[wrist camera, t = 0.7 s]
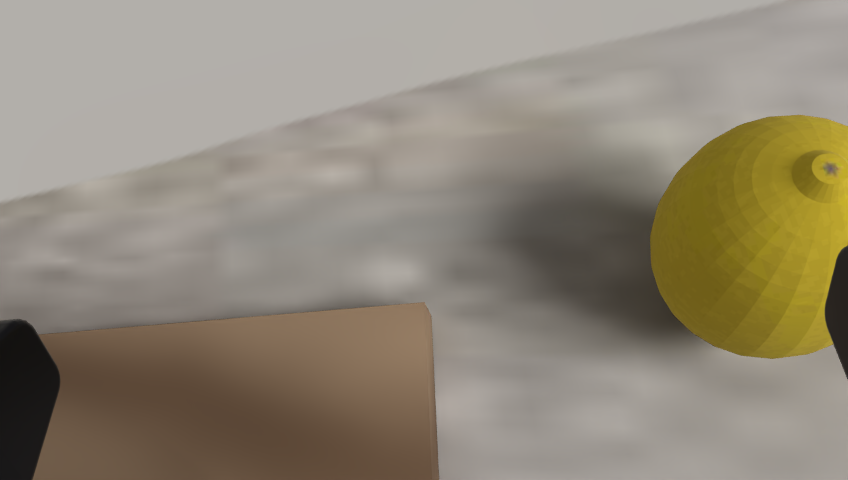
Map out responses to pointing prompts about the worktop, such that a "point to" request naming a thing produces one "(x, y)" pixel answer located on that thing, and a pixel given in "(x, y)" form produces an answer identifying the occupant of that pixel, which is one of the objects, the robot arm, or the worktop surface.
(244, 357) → the board
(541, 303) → the worktop surface
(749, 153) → the lemon
